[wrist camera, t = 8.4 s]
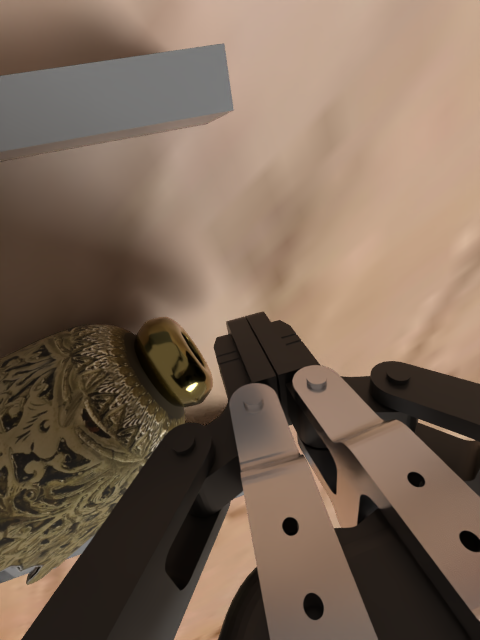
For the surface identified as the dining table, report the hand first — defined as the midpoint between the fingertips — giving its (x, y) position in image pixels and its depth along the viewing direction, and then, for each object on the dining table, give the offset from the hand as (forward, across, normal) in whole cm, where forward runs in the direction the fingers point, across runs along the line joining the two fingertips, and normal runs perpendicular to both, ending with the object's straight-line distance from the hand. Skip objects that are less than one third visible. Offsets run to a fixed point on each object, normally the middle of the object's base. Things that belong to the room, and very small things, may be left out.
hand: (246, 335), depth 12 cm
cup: (0, +2, 0) cm, 2 cm away
